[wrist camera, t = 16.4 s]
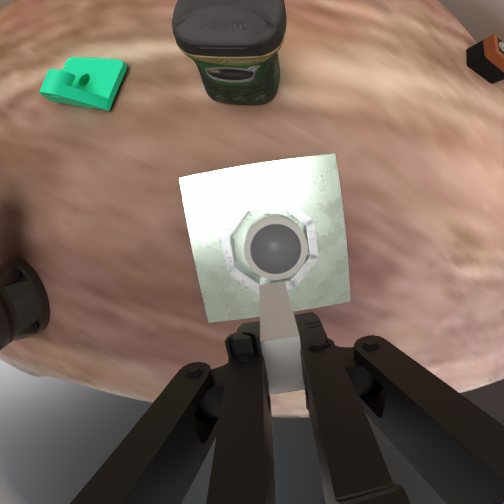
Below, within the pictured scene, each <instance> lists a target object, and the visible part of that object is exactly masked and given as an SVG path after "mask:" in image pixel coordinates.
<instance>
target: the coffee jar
mask: <svg viewBox="0 0 504 504" xmlns="http://www.w3.org/2000/svg"><path fill="white" fill-rule="evenodd" d="M172 27H173V33H174V36H175V39H176V43H177V45H178V47H179V49H180V50H181V51H182V52H183V53H184V54H186V55H187V56H188V57H190V58H191V59H193V60H194V61H195V63H196V65H197V67H198V69H199V72H200V75H201V78H202V82H203V85H204V88H205V90H206V92H207V94H208V95H209V96H210V97H211V98H212V99H214V100H216V101H219V102H224V103H232V104H263V103H266V102H268V101H270V100H271V99H272V98H273V97H274V96H275V95H276V93H277V90H278V85H279V78H280V67H279V59H278V54H277V51H278V50H279V49H280V47H281V46H282V44H283V41H284V38H285V34H286V27H287V15H286V10H285V5H284V0H178V1H177V4H176V6H175V10H174V14H173V19H172Z"/></svg>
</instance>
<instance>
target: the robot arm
mask: <svg viewBox="0 0 504 504" xmlns="http://www.w3.org/2000/svg"><path fill="white" fill-rule="evenodd" d="M259 291H260V321H258V322H251V323H243V324H241V326H240V327H239V328H238V329H237V332H236V333H234V334H231V335H230V336H228V337H227V338H226V340H225V345H226V349H227V353H228V357H229V361H228V363H227V364H226V365H224V366H221V367H218V368H215V369H211V368H210V366H209V365H208V364H206V363H202V362H195V363H190V364H188V365H186V366H184V367H182V368H181V369H180V370H179V371H178V373H177V374H176V375H175V376H174V378H173V379H172V380H171V381H170V383H169V384H168V385H167V386H166V388H165V389H164V390H163V391H162V393H161V394H160V395H159V396H158V398H157V399H156V400H155V401H154V403H153V404H152V405H151V406H150V408H149V409H148V410H147V411H146V413H145V414H144V415H143V416H142V417H141V419H140V420H139V421H138V422H137V424H136V425H135V426H134V427H133V429H132V430H131V431H130V432H129V433H128V435H127V436H126V437H125V438H124V440H123V441H122V442H121V443H120V444H119V446H118V447H117V448H116V449H115V450H114V452H113V453H112V455H110V457H109V458H108V459H107V460H106V462H105V463H104V464H103V465H102V466H101V467H100V469H99V470H98V471H97V472H96V474H95V475H94V476H93V477H92V478H91V479H90V481H89V482H88V483H87V484H86V485H85V487H84V488H83V489H82V490H81V491H80V492H79V494H78V495H77V496H76V497H75V499H73V501H72V502H71V503H70V504H181V503H182V501H183V499H184V497H185V496H186V493H187V492H188V490H189V488H190V486H191V484H192V483H193V481H194V479H195V477H196V474H197V473H198V471H199V469H200V467H201V465H202V463H203V461H204V460H205V457H206V456H207V454H208V452H209V449H210V448H211V446H212V444H213V442H214V440H215V438H216V444H215V451H214V457H213V464H212V470H211V476H210V484H209V490H208V496H207V504H276V497H275V475H274V454H273V435H272V416H271V401H270V395H269V394H277V393H284V392H291V391H297V390H304V389H305V395H306V407H307V409H308V411H309V416H310V421H311V425H312V431H313V436H314V442H315V447H316V452H317V457H318V463H319V468H320V474H321V479H322V484H323V490H324V496H325V501H326V504H410V502H409V499H408V497H407V494H406V492H405V490H404V489H403V487H402V486H401V485H398V484H394V483H393V481H392V479H391V477H390V474H389V472H388V469H387V466H386V464H385V461H384V459H383V456H382V454H381V451H380V449H379V446H378V444H377V441H376V439H375V436H374V434H373V431H372V429H371V427H370V424H369V422H368V419H367V417H366V415H365V413H366V414H367V415H368V416H369V417H370V418H371V419H372V421H373V422H374V423H375V424H376V425H377V426H378V428H379V429H380V430H381V431H382V432H383V433H384V434H385V435H386V437H387V438H388V439H389V440H390V441H391V442H392V443H393V445H394V446H395V447H396V448H397V449H398V450H399V451H400V453H401V454H402V455H403V456H404V457H405V458H406V459H407V460H408V461H409V463H410V464H411V465H412V466H413V467H414V468H415V469H416V470H417V472H418V473H419V474H420V475H421V476H422V477H423V478H424V479H425V480H426V482H427V483H428V484H429V485H430V486H431V487H432V488H433V489H434V490H435V491H436V493H437V494H439V496H440V497H441V498H442V499H443V500H444V501H445V502H446V503H447V504H504V426H503V425H502V424H500V423H499V422H497V421H496V420H495V419H494V418H492V417H491V416H490V415H488V414H487V413H486V412H484V411H483V410H481V409H480V408H479V407H477V406H476V405H475V404H473V403H472V402H471V401H469V400H468V399H467V398H465V397H464V396H462V395H461V394H460V393H458V392H457V391H456V390H454V389H453V388H452V387H450V386H449V385H447V384H446V383H445V382H443V381H442V380H441V379H439V378H438V377H436V376H435V375H434V374H432V373H431V372H430V371H428V370H427V369H426V368H424V367H423V366H421V365H420V364H419V363H417V362H416V361H414V360H413V359H412V358H410V357H409V356H408V355H406V354H405V353H403V352H402V351H401V350H399V349H398V348H397V347H395V346H394V345H392V344H391V343H390V342H388V341H387V340H385V339H384V338H382V337H379V336H374V335H371V336H365V337H362V338H360V339H358V340H357V341H356V342H355V344H354V347H350V348H345V347H338V346H335V344H334V342H333V341H332V340H331V339H328V338H327V335H326V333H325V331H324V328H323V326H322V324H321V322H320V319H319V317H318V316H317V315H315V314H314V313H312V312H311V313H305V314H299V315H294V313H293V309H292V306H291V302H290V299H289V295H288V291H287V288H286V284H285V281H283V282H277V283H270V284H263V285H259ZM48 320H49V305H48V299H47V296H46V292H45V290H44V287H43V285H42V283H41V281H40V279H39V277H38V276H37V274H36V273H35V271H34V270H33V269H32V268H31V267H30V266H29V265H28V264H27V263H26V262H25V261H23V260H21V259H17V258H13V259H10V260H7V261H5V262H3V263H2V264H0V350H1V349H2V348H4V347H5V346H6V345H8V344H9V343H10V342H12V341H13V340H18V339H23V338H28V337H33V336H35V335H37V334H39V333H40V332H41V331H43V330H44V329H45V327H46V326H47V323H48ZM364 411H365V412H364ZM216 436H217V437H216Z"/></svg>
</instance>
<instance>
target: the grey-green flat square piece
mask: <svg viewBox="0 0 504 504" xmlns="http://www.w3.org/2000/svg"><path fill="white" fill-rule="evenodd" d="M179 181H180V187H181V193H182V199H183V204H184V210H185V215H186V221H187V226H188V231H189V236H190V241H191V246H192V251H193V256H194V261H195V266H196V270H197V275H198V279H199V284H200V288H201V293H202V297H203V302H204V306H205V310H206V314H207V318H208V323H212V322H221V321H229V320H237V319H245V318H253V317H260V291H259V285H263V284H270V283H277V282H283V281H285V284H286V288H287V291H288V295H289V299H290V302H291V306H292V309H293V312H294V311H301V310H307V309H313V308H319V307H324V306H330V305H335V304H341V303H346V302H351V299H350V280H349V265H348V253H347V241H346V231H345V222H344V213H343V205H342V197H341V189H340V182H339V175H338V169H337V163H336V156H335V154H325V155H316V156H307V157H299V158H291V159H283V160H276V161H269V162H263V163H256V164H250V165H244V166H238V167H232V168H227V169H221V170H216V171H211V172H206V173H201V174H196V175H191V176H186V177H181V178H179ZM267 214H281V215H284V216H286V217H288V218H290V219H291V220H292V221H293V222H294V223H295V224H296V225H297V226H298V227H299V228H300V229H301V230H302V232H303V233H304V235H305V238H306V241H307V256H306V259H305V262H304V263H303V265H302V267H301V268H300V269H299V270H298V271H297V272H296V273H295V274H293V275H292V276H290V277H288V278H285V279H281V280H270V279H266V278H263V277H261V276H259V275H258V274H256V273H255V272H254V271H253V270H252V269H251V268H250V267H249V265H248V263H247V261H246V259H245V255H244V243H245V239H246V236H247V233H248V230H249V228H250V226H251V225H252V224H253V222H254V221H256V220H257V219H258V218H260V217H262V216H264V215H267Z"/></svg>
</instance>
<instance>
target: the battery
mask: <svg viewBox="0 0 504 504" xmlns="http://www.w3.org/2000/svg"><path fill="white" fill-rule="evenodd" d="M467 64H468V66H469V67H470V68H472V69H473V70H474V71H476V72H477V73H479V74H480V75H481V76H483V77H484V78H485V79H486V80H488V81H489V82H490V83H495V82H498V81H500V80H503V79H504V41H502V40H501V39H500V38H499V37H498V36H496V35H495V34H494V35H492V36H490V37H488V38H486V39H485V40H482V41H481V42H479V43H477V44H475V45H474V46H472V47H470V48H468V49H467Z"/></svg>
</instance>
